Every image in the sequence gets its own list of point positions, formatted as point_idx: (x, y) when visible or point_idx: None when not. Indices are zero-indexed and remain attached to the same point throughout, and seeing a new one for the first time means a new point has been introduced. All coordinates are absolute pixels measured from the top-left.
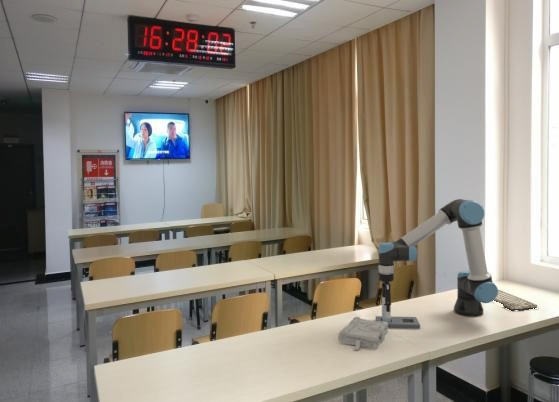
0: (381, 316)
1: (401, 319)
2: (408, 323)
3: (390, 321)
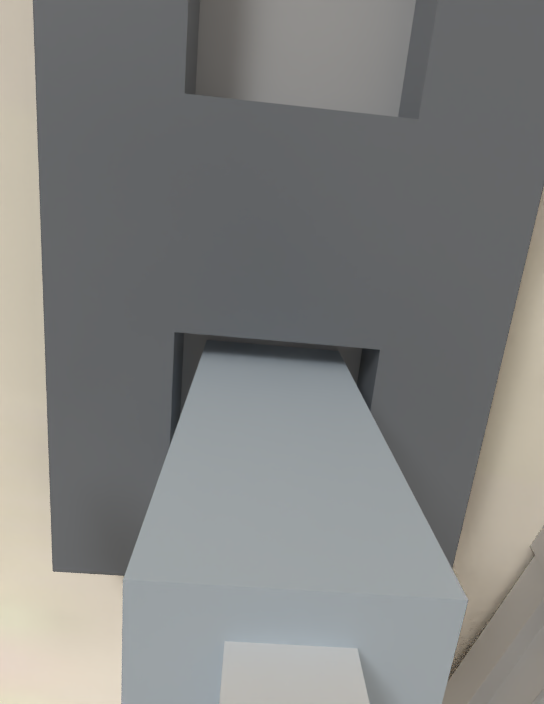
0: (59, 480)
1: (236, 118)
2: (509, 18)
3: (349, 377)
